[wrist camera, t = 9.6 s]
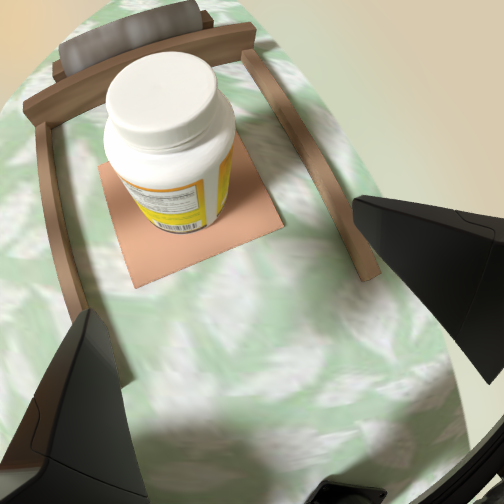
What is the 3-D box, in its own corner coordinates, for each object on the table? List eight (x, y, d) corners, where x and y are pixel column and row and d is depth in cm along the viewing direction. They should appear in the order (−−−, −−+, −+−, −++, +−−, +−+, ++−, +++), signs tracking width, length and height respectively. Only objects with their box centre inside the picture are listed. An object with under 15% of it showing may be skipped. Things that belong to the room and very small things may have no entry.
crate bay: (372, 275, 19) (419, 262, 14) (109, 392, 16) (74, 418, 11) (230, 29, 23) (235, -14, 17) (40, 97, 19) (17, 60, 14)
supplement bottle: (195, 143, 19) (189, 23, 9) (244, 204, 19) (276, 99, 9) (126, 187, 18) (66, 85, 8) (171, 255, 18) (123, 187, 8)
